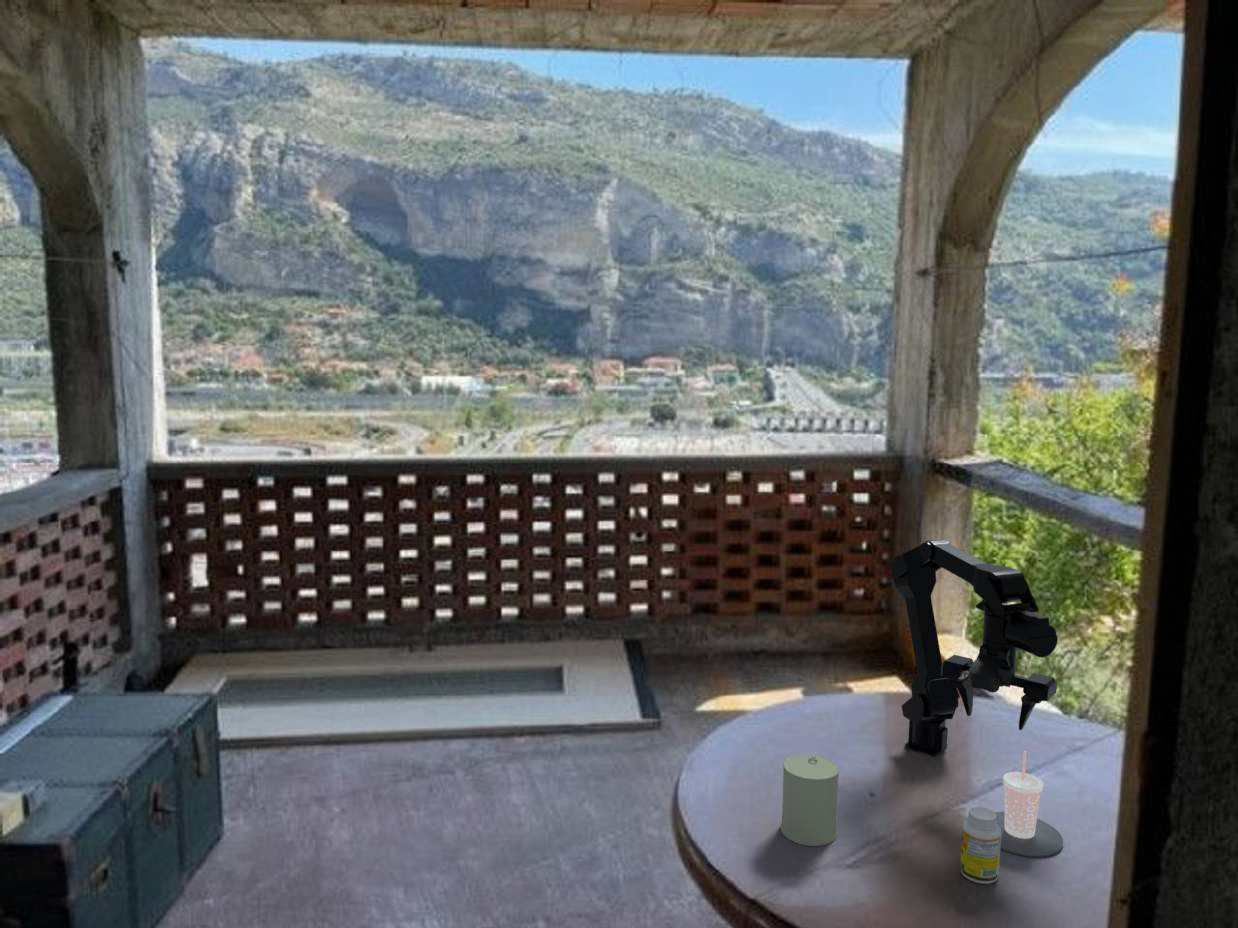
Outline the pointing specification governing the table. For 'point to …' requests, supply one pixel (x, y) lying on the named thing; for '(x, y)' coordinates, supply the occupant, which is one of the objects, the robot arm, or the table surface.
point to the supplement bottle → (980, 846)
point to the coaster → (1031, 840)
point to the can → (809, 799)
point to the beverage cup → (1021, 802)
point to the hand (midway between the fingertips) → (994, 722)
